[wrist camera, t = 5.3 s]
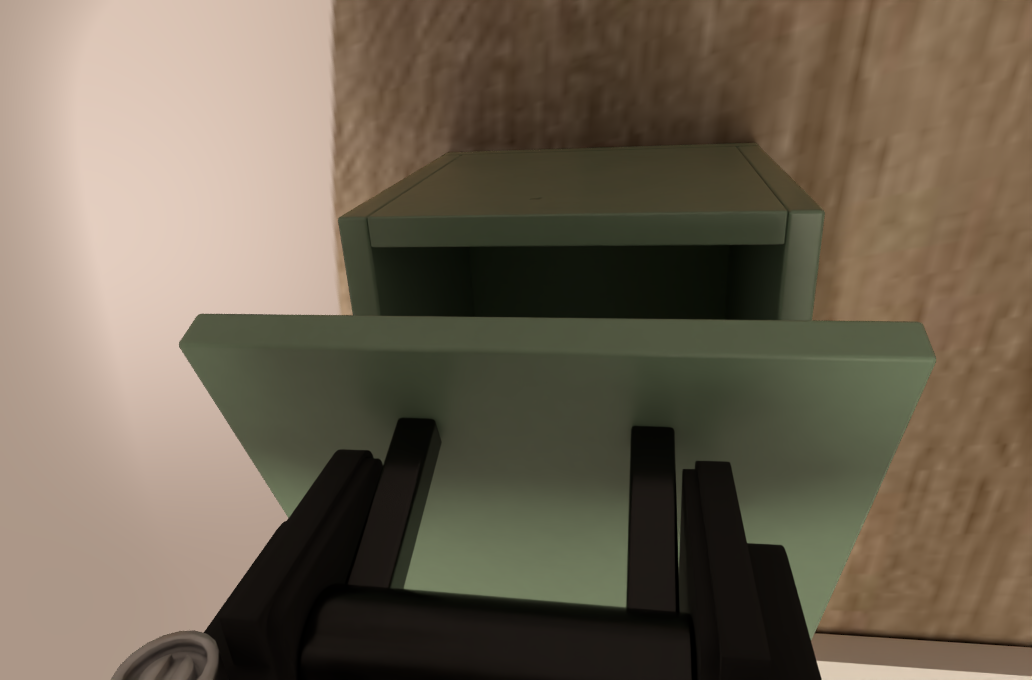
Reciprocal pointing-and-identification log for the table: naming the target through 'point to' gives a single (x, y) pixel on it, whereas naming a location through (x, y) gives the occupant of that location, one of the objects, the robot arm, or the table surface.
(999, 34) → the table surface
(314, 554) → the robot arm
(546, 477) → the bin lid
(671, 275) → the bin
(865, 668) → the laptop
